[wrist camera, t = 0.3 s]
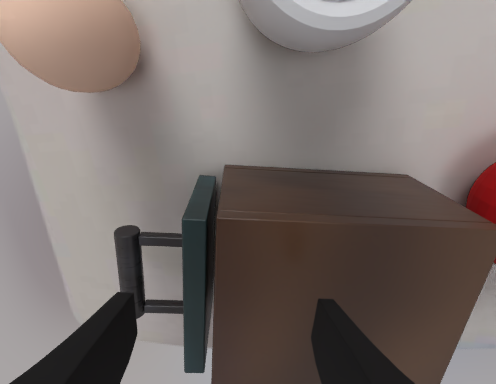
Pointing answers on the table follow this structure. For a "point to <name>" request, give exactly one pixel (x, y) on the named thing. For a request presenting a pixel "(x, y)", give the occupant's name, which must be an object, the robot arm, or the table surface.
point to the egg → (72, 41)
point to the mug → (320, 21)
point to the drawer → (194, 270)
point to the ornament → (484, 195)
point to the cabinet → (341, 270)
